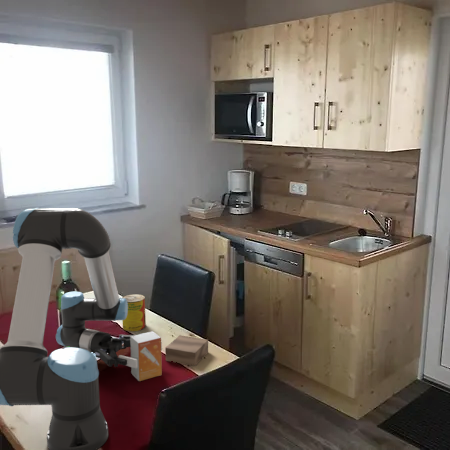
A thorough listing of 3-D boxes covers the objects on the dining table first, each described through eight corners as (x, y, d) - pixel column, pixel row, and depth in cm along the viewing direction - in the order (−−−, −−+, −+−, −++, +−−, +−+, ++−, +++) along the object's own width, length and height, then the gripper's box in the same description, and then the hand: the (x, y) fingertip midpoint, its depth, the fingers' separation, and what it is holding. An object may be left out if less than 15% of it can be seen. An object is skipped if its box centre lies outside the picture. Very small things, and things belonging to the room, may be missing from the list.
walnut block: (195, 366, 172) (195, 352, 171) (165, 361, 176) (165, 347, 175) (208, 353, 182) (208, 339, 181) (179, 348, 186) (179, 335, 185)
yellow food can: (140, 332, 199) (139, 302, 197) (118, 330, 201) (117, 300, 199) (149, 323, 208) (148, 295, 205) (128, 321, 210) (127, 293, 207)
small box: (139, 382, 162) (137, 343, 159) (131, 374, 167) (129, 336, 164) (162, 375, 166) (161, 337, 163) (153, 367, 171) (152, 330, 169)
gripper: (120, 338, 186) (170, 350, 177) (71, 368, 164) (125, 383, 155) (119, 319, 184) (170, 329, 175) (69, 346, 162) (124, 359, 153)
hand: (149, 354), depth 165 cm, fingers open, 13 cm apart
